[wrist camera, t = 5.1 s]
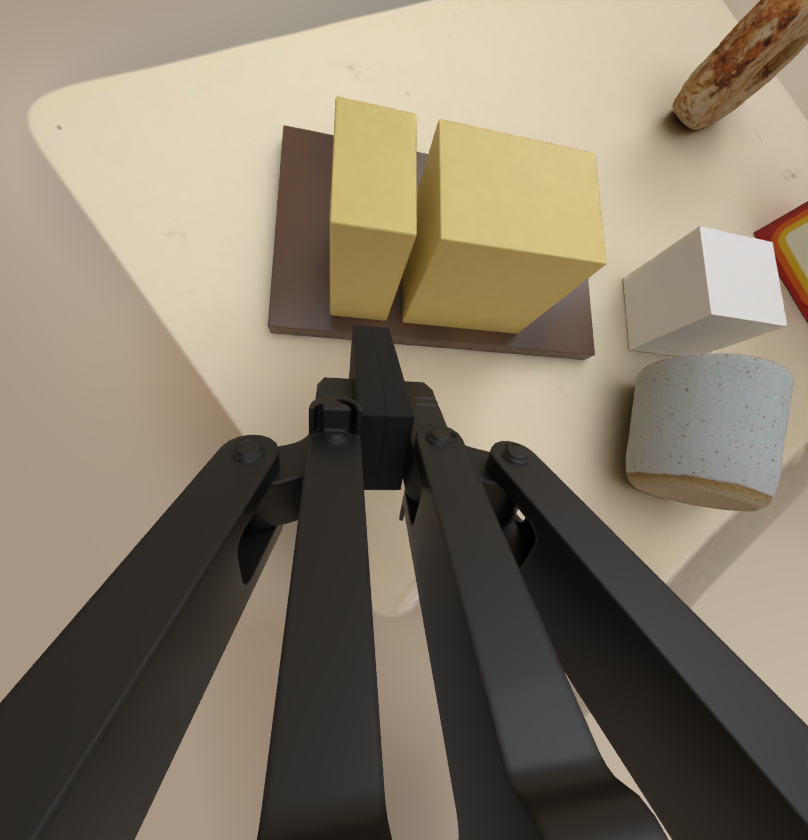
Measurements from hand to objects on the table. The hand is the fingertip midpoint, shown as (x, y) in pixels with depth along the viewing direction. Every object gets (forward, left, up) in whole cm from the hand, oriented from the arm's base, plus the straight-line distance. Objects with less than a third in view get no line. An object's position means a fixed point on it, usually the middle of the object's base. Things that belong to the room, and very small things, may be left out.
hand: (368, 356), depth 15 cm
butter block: (+7, +8, -6) cm, 12 cm away
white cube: (+24, +8, -7) cm, 26 cm away
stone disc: (+31, +29, -7) cm, 43 cm away
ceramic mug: (+23, -2, -7) cm, 24 cm away
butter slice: (0, +8, -6) cm, 10 cm away
